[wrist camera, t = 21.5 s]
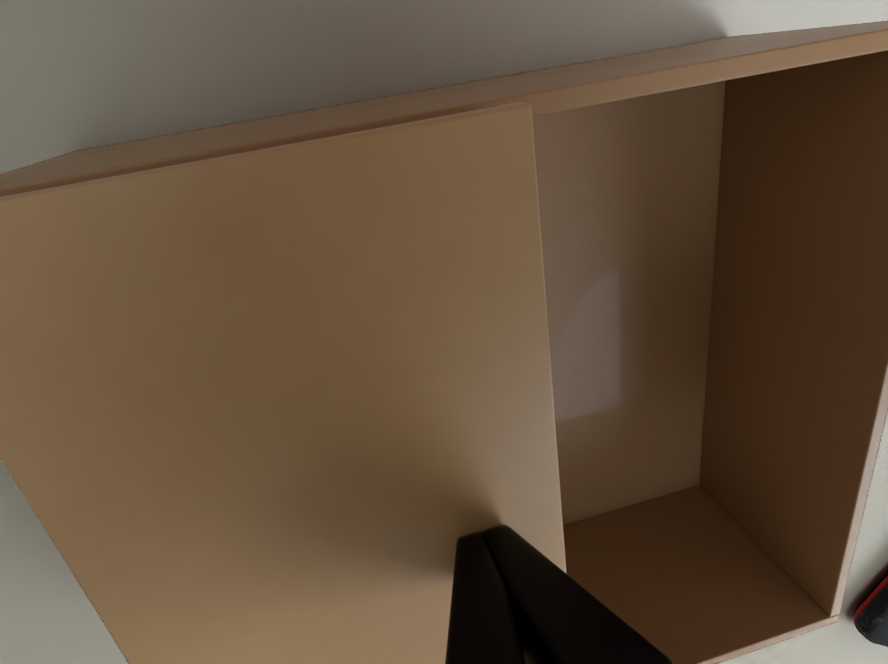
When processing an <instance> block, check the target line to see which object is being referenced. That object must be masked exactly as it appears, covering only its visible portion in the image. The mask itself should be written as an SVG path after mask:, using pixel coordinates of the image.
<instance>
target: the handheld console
mask: <svg viewBox="0 0 888 664" xmlns="http://www.w3.org/2000/svg"><path fill="white" fill-rule="evenodd" d="M854 624H855V626H856V628H857V630H858V631H859V632H860V633H861V634H862V635H863V636H864V637H865V638H866V639H868V640H869V641H871V642H873V643H876V644H880V645H884V646H887V647H888V576H887V577H886V578H885V579H884V580H883V581H882V582H881V583H880V585H879V586H878V587H877V588H876V589H875V590H874V591H873V592H872V593H871V595H870V596H869V597H868V598H867V599H866V600H865V601H864V602H863V603H862V605H861V606H860V607H859V608H858V610H857V612H856V614H855V617H854Z"/></svg>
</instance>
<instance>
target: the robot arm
mask: <svg viewBox="0 0 888 664" xmlns="http://www.w3.org/2000/svg"><path fill="white" fill-rule="evenodd" d="M445 664H672V661H671V660H670V659H669V658H668V657H667V656H666V655H664V654H663V653H662V652H661V651H660V650H658V649H657V648H656V647H655V646H653V645H652V644H651V643H650V642H649V641H647V640H646V639H645V638H644V637H643V636H641V635H640V634H639V633H638V632H637V631H635V630H634V629H633V628H632V627H630V626H629V625H628V624H627V623H626V622H624V621H623V620H622V619H621V618H620V617H618V616H617V615H616V614H615V613H613V612H612V611H611V610H610V609H609V608H607V607H606V606H605V605H604V604H603V603H601V602H600V601H599V600H598V599H596V598H595V597H594V596H593V595H592V594H590V593H589V592H588V591H587V590H586V589H584V588H583V587H582V586H581V585H580V584H578V583H577V582H576V581H575V580H573V579H572V578H571V577H570V576H569V575H567V574H566V573H565V572H564V571H563V570H561V569H560V568H559V567H558V566H556V565H555V564H554V563H553V562H552V561H550V560H549V559H548V558H547V557H546V556H544V555H543V554H542V553H541V552H539V551H538V550H537V549H536V548H535V547H533V546H532V545H531V544H530V543H529V542H527V541H526V540H525V539H524V538H522V537H521V536H520V535H519V534H518V533H516V532H515V531H514V530H513V529H512V528H510V527H509V526H507V525H500V526H496V527H493V528H490V529H486V530H485V531H484V532H483V536H482V534H481V533H479V532H476V533H472V534H469V535H466V536H462V537H460V538H458V540H457V544H456V554H455V565H454V575H453V586H452V597H451V607H450V618H449V628H448V639H447V649H446V660H445Z"/></svg>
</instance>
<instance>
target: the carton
mask: <svg viewBox="0 0 888 664" xmlns="http://www.w3.org/2000/svg"><path fill="white" fill-rule="evenodd" d="M517 102H522V103H529V104H530V105H531V107H532V120H533V133H534V146H535V159H536V173H537V186H538V199H539V213H540V226H541V239H542V253H543V266H544V279H545V292H546V306H547V319H548V332H549V346H550V359H551V372H552V386H553V399H554V412H555V425H556V439H557V452H558V465H559V479H560V492H561V505H562V519H563V532H564V545H565V558H566V572H567V575H569V576H570V577H571V578H572V579H573V580H575V581H576V582H577V583H578V584H580V585H581V586H582V587H583V588H584V589H586V590H587V591H588V592H589V593H590V594H592V595H593V596H594V597H595V598H596V599H598V600H599V601H600V602H601V603H603V604H604V605H605V606H606V607H607V608H609V609H610V610H611V611H612V612H613V613H615V614H616V615H617V616H618V617H620V618H621V619H622V620H623V621H624V622H626V623H627V624H628V625H629V626H630V627H632V628H633V629H634V630H635V631H637V632H638V633H639V634H640V635H641V636H643V637H644V638H645V639H646V640H647V641H649V642H650V643H651V644H652V645H653V646H655V647H656V648H657V649H658V650H660V651H661V652H662V653H663V654H664V655H666V656H667V657H668V658H669V659H670V660H671V661H672V664H718V663H721V662H724V661H727V660H730V659H732V658H735V657H738V656H741V655H744V654H747V653H750V652H752V651H755V650H758V649H761V648H764V647H767V646H770V645H772V644H775V643H778V642H781V641H784V640H787V639H790V638H792V637H795V636H798V635H801V634H804V633H807V632H810V631H812V630H815V629H818V628H821V627H824V626H827V625H830V624H832V623H835V622H837V621H838V618H839V613H840V610H841V606H842V601H843V597H844V593H845V589H846V585H847V580H848V576H849V572H850V568H851V564H852V559H853V555H854V551H855V547H856V542H857V538H858V534H859V530H860V526H861V521H862V517H863V513H864V509H865V504H866V500H867V496H868V492H869V488H870V483H871V479H872V475H873V471H874V466H875V462H876V458H877V454H878V450H879V445H880V441H881V437H882V433H883V428H884V424H885V420H886V416H887V412H888V21H882V22H872V23H862V24H852V25H842V26H832V27H822V28H812V29H802V30H792V31H782V32H772V33H762V34H752V35H742V36H732V37H726V38H720V39H714V40H709V41H703V42H697V43H691V44H686V45H680V46H674V47H668V48H663V49H657V50H651V51H645V52H640V53H634V54H628V55H623V56H617V57H611V58H605V59H600V60H594V61H588V62H582V63H577V64H571V65H565V66H559V67H554V68H548V69H542V70H536V71H531V72H525V73H519V74H514V75H508V76H502V77H496V78H491V79H485V80H479V81H473V82H468V83H462V84H456V85H450V86H445V87H439V88H433V89H427V90H422V91H416V92H410V93H404V94H399V95H393V96H387V97H382V98H376V99H370V100H364V101H359V102H353V103H347V104H341V105H336V106H330V107H324V108H318V109H313V110H307V111H301V112H295V113H290V114H284V115H278V116H273V117H267V118H261V119H255V120H250V121H244V122H238V123H232V124H227V125H221V126H215V127H209V128H204V129H198V130H192V131H186V132H181V133H175V134H169V135H164V136H158V137H152V138H146V139H141V140H135V141H129V142H123V143H118V144H112V145H106V146H100V147H95V148H89V149H83V150H77V151H73V152H70V153H67V154H64V155H60V156H57V157H54V158H51V159H48V160H45V161H41V162H38V163H35V164H32V165H29V166H25V167H22V168H19V169H16V170H13V171H10V172H6V173H3V174H0V197H2V196H7V195H13V194H18V193H24V192H29V191H34V190H40V189H45V188H51V187H56V186H62V185H67V184H73V183H78V182H84V181H89V180H95V179H100V178H106V177H111V176H117V175H122V174H128V173H133V172H139V171H144V170H150V169H155V168H160V167H166V166H171V165H177V164H182V163H188V162H193V161H199V160H204V159H210V158H215V157H221V156H226V155H232V154H237V153H243V152H248V151H254V150H259V149H265V148H270V147H276V146H281V145H287V144H292V143H297V142H303V141H308V140H314V139H319V138H325V137H330V136H336V135H341V134H347V133H352V132H358V131H363V130H369V129H374V128H380V127H385V126H391V125H396V124H402V123H407V122H413V121H418V120H424V119H429V118H434V117H440V116H445V115H451V114H456V113H462V112H467V111H473V110H478V109H484V108H489V107H495V106H500V105H506V104H511V103H517Z"/></svg>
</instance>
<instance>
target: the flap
mask: <svg viewBox="0 0 888 664" xmlns="http://www.w3.org/2000/svg"><path fill="white" fill-rule="evenodd" d="M0 457H1V459H2V460H3V462H4V464H5V465H6V467H7V468H8V470H9V472H10V473H11V475H12V476H13V478H14V480H15V481H16V483H17V485H18V486H19V488H20V489H21V491H22V493H23V494H24V496H25V497H26V499H27V501H28V502H29V504H30V505H31V507H32V509H33V510H34V512H35V514H36V515H37V517H38V518H39V520H40V522H41V523H42V525H43V526H44V528H45V530H46V531H47V533H48V534H49V536H50V538H51V539H52V541H53V543H54V544H55V546H56V547H57V549H58V551H59V552H60V554H61V555H62V557H63V559H64V560H65V562H66V563H67V565H68V567H69V568H70V570H71V572H72V573H73V575H74V576H75V578H76V580H77V581H78V583H79V584H80V586H81V588H82V589H83V591H84V592H85V594H86V596H87V597H88V599H89V601H90V602H91V604H92V605H93V607H94V609H95V610H96V612H97V613H98V615H99V617H100V618H101V620H102V621H103V623H104V625H105V626H106V628H107V630H108V631H109V633H110V634H111V636H112V638H113V639H114V641H115V642H116V644H117V646H118V647H119V649H120V650H121V652H122V654H123V655H124V657H125V659H126V660H127V662H128V663H129V664H445V660H446V649H447V639H448V628H449V618H450V607H451V597H452V586H453V575H454V565H455V554H456V544H457V540H458V538H460V537H462V536H466V535H469V534H472V533H476V532H479V533H481V534H482V536H483V532H484V531H485V530H486V529H490V528H493V527H496V526H500V525H507V526H509V527H510V528H512V529H513V530H514V531H515V532H516V533H518V534H519V535H520V536H521V537H522V538H524V539H525V540H526V541H527V542H529V543H530V544H531V545H532V546H533V547H535V548H536V549H537V550H538V551H539V552H541V553H542V554H543V555H544V556H546V557H547V558H548V559H549V560H550V561H552V562H553V563H554V564H555V565H556V566H558V567H559V568H560V569H561V570H563V571H564V572H565V573H566V574H567V572H566V558H565V545H564V532H563V519H562V505H561V492H560V479H559V465H558V452H557V439H556V425H555V412H554V399H553V386H552V372H551V359H550V346H549V332H548V319H547V306H546V292H545V279H544V266H543V253H542V239H541V226H540V213H539V199H538V186H537V173H536V159H535V146H534V133H533V120H532V107H531V105H530V104H529V103H522V102H517V103H511V104H506V105H500V106H495V107H489V108H484V109H478V110H473V111H467V112H462V113H456V114H451V115H445V116H440V117H434V118H429V119H424V120H418V121H413V122H407V123H402V124H396V125H391V126H385V127H380V128H374V129H369V130H363V131H358V132H352V133H347V134H341V135H336V136H330V137H325V138H319V139H314V140H308V141H303V142H297V143H292V144H287V145H281V146H276V147H270V148H265V149H259V150H254V151H248V152H243V153H237V154H232V155H226V156H221V157H215V158H210V159H204V160H199V161H193V162H188V163H182V164H177V165H171V166H166V167H160V168H155V169H150V170H144V171H139V172H133V173H128V174H122V175H117V176H111V177H106V178H100V179H95V180H89V181H84V182H78V183H73V184H67V185H62V186H56V187H51V188H45V189H40V190H34V191H29V192H24V193H18V194H13V195H7V196H2V197H0Z"/></svg>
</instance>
